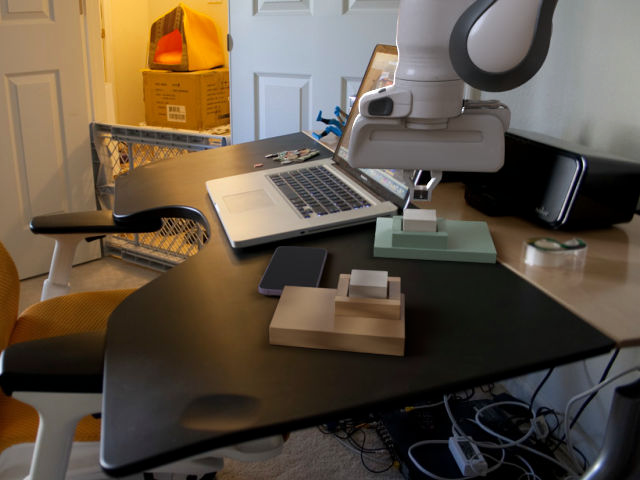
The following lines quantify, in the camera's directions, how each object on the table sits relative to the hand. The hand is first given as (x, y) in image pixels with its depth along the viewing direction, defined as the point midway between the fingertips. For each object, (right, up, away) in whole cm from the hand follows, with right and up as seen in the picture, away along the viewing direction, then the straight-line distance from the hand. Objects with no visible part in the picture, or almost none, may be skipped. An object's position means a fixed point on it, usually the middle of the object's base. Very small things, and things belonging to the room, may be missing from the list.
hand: (420, 199), depth 88 cm
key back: (0, -4, +1) cm, 4 cm away
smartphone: (-18, -10, -4) cm, 21 cm away
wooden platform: (-14, -15, -17) cm, 27 cm away
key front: (-11, -11, -17) cm, 23 cm away
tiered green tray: (+3, -6, +4) cm, 8 cm away
